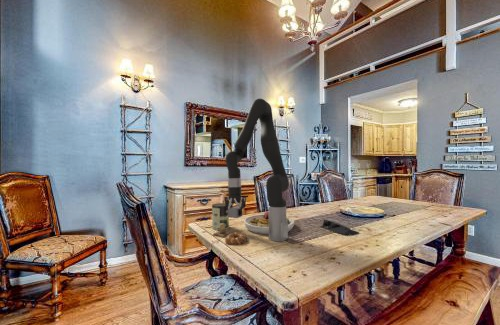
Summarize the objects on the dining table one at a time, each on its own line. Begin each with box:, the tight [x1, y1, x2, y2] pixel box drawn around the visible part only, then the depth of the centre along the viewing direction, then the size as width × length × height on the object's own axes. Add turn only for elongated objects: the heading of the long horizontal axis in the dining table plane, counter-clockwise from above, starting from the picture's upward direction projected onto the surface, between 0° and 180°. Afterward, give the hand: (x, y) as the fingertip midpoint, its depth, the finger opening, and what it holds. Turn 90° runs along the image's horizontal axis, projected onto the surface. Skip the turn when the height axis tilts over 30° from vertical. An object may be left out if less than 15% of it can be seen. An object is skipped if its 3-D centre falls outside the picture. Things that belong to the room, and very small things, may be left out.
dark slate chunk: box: [319, 219, 361, 236], centre depth 133 cm, size 15×22×5 cm
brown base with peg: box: [212, 223, 232, 238], centre depth 126 cm, size 7×7×6 cm
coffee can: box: [211, 202, 230, 231], centre depth 139 cm, size 10×10×14 cm
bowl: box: [243, 210, 295, 235], centre depth 138 cm, size 30×30×8 cm
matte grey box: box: [228, 206, 243, 219], centre depth 130 cm, size 6×6×5 cm
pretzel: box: [224, 232, 248, 246], centre depth 116 cm, size 12×11×4 cm
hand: (235, 215), depth 130 cm, fingers closed on matte grey box, 5 cm apart
